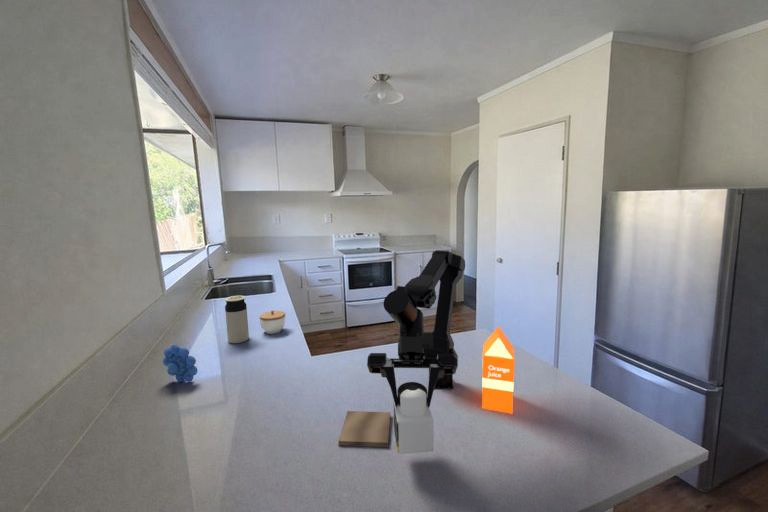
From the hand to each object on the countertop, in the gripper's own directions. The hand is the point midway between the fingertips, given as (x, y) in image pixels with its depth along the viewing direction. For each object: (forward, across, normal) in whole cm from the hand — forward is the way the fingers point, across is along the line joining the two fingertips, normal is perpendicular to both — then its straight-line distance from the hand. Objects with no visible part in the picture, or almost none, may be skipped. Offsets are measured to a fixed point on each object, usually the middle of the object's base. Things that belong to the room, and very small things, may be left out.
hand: (412, 406), depth 65 cm
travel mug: (-35, -71, +54) cm, 96 cm away
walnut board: (+2, -11, +16) cm, 20 cm away
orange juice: (-7, +23, +26) cm, 35 cm away
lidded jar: (-42, -60, +62) cm, 96 cm away
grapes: (-11, -72, +30) cm, 79 cm away
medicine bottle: (+5, 0, +7) cm, 9 cm away
